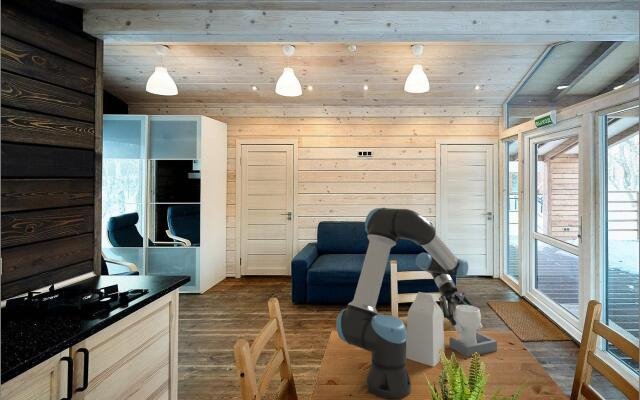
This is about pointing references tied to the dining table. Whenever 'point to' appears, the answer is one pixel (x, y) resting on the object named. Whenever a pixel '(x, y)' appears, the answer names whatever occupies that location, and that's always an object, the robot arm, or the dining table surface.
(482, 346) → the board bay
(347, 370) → the dining table surface
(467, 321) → the cup
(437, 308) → the milk
